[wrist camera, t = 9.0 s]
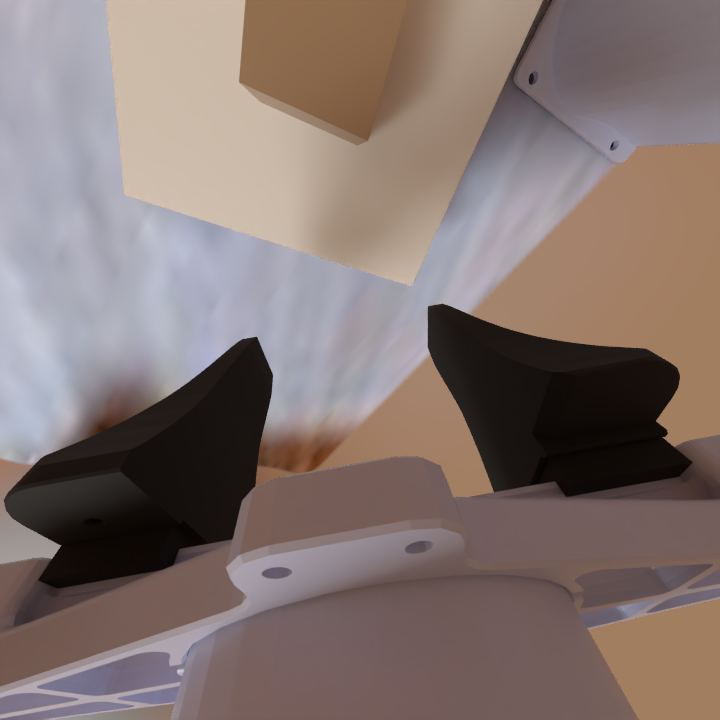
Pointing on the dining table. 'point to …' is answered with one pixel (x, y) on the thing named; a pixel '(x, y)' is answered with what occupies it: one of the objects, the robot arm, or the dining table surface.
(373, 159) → the lid
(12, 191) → the dining table surface
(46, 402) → the dining table surface
